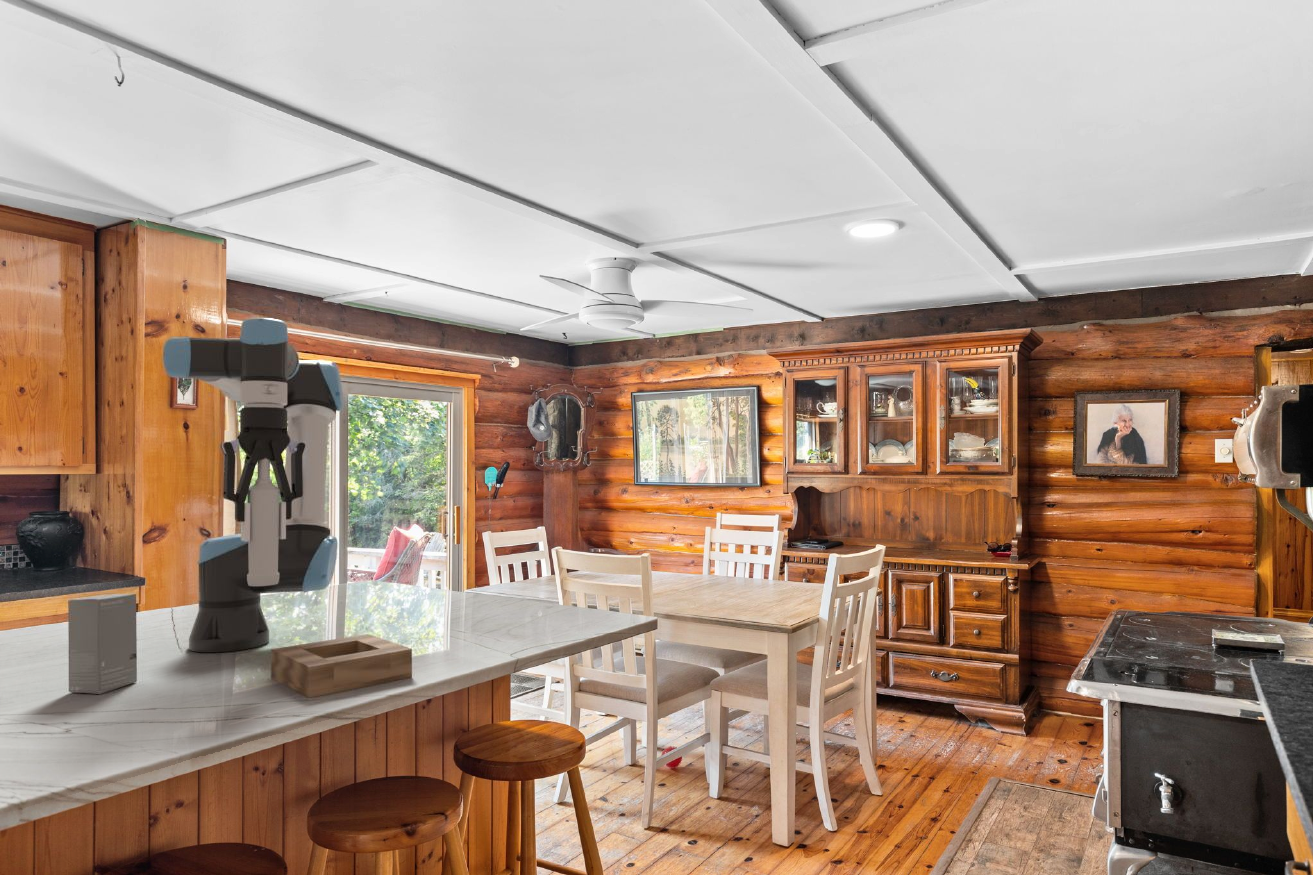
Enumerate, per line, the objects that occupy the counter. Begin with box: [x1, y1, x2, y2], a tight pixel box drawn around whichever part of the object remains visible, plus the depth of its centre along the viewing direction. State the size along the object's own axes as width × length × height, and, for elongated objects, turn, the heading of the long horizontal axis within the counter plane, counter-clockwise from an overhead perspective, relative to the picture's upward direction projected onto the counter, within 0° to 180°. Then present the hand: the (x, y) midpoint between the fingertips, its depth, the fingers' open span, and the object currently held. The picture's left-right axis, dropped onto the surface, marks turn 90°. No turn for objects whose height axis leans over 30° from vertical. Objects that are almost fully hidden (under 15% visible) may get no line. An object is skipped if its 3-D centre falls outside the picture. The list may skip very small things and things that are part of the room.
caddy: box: [270, 633, 413, 699], centre depth 148 cm, size 18×18×5 cm
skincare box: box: [67, 593, 138, 695], centre depth 143 cm, size 8×7×16 cm
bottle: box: [246, 458, 281, 586], centre depth 145 cm, size 5×5×25 cm
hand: (263, 539), depth 145 cm, fingers closed on bottle, 5 cm apart
